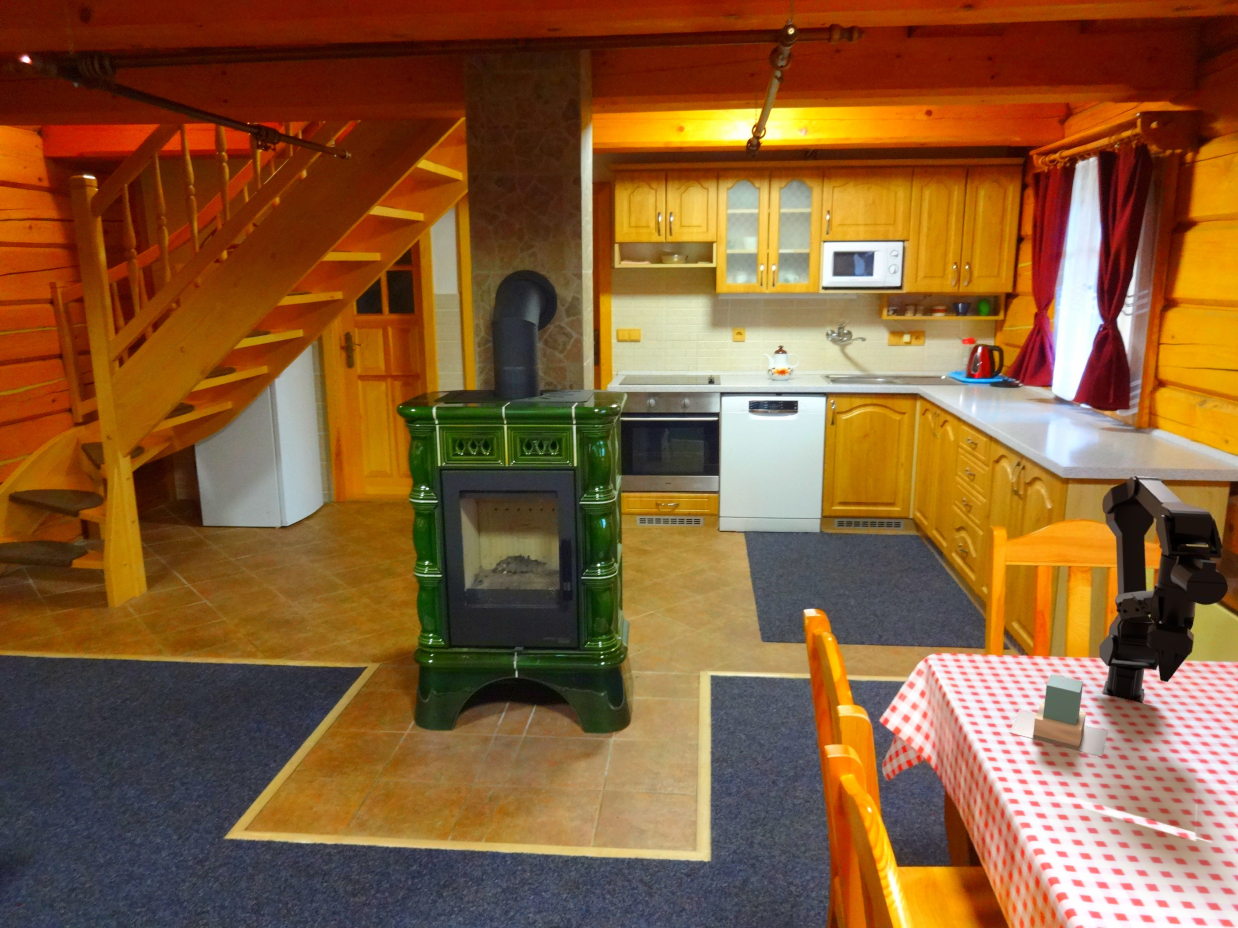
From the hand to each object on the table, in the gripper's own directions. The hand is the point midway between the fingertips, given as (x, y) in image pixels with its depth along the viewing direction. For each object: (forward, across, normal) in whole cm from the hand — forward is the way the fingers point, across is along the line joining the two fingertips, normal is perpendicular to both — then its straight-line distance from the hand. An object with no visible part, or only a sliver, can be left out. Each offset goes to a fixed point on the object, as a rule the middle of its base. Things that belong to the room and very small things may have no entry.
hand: (1165, 670), depth 147 cm
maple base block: (+11, +9, -14) cm, 20 cm away
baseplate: (+12, +9, -14) cm, 21 cm away
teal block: (+8, +9, -14) cm, 19 cm away
